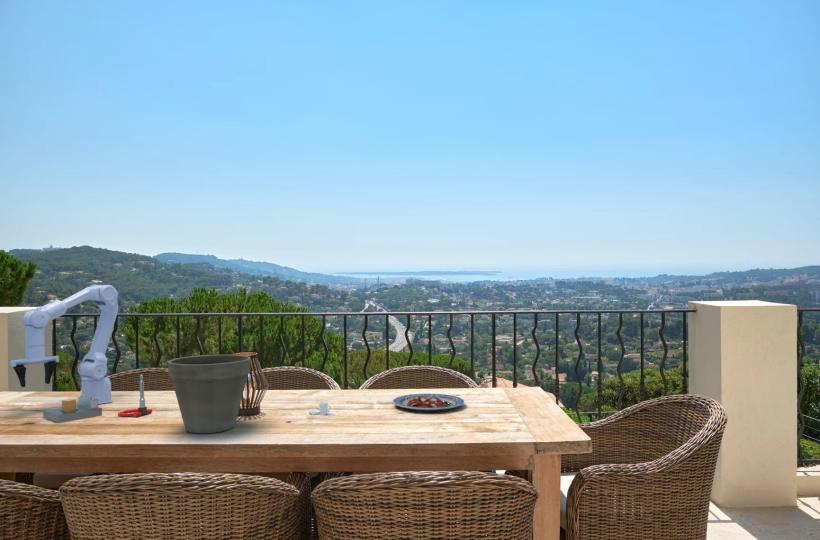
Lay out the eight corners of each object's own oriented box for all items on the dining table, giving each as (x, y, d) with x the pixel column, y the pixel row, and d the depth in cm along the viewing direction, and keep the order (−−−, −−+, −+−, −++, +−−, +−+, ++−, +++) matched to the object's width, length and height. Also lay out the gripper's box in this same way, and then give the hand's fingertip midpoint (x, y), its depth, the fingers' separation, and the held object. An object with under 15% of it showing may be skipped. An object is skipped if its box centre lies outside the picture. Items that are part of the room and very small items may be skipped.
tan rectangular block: (69, 416, 212) (69, 398, 212) (76, 417, 210) (76, 399, 210) (62, 418, 209) (61, 400, 209) (68, 419, 208) (68, 401, 208)
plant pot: (186, 418, 208) (186, 353, 208) (260, 418, 207) (260, 353, 207) (153, 438, 183) (153, 364, 183) (237, 438, 182) (237, 364, 182)
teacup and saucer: (305, 415, 213) (305, 403, 213) (323, 411, 219) (323, 399, 219) (321, 419, 207) (321, 407, 207) (339, 415, 213) (339, 403, 213)
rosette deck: (86, 410, 221) (86, 393, 221) (101, 415, 213) (101, 397, 213) (43, 417, 210) (43, 399, 210) (57, 423, 202) (57, 404, 202)
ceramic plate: (380, 411, 218) (380, 402, 218) (408, 397, 242) (408, 389, 242) (451, 417, 209) (451, 408, 209) (472, 402, 233) (472, 394, 233)
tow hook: (111, 417, 212) (134, 418, 208) (110, 376, 212) (132, 376, 209) (132, 411, 220) (154, 412, 217) (131, 372, 221) (153, 372, 217)
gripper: (53, 342, 223) (53, 380, 223) (7, 346, 212) (7, 386, 212) (61, 344, 219) (61, 383, 219) (14, 348, 208) (14, 389, 208)
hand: (35, 385), depth 215 cm, fingers open, 7 cm apart
